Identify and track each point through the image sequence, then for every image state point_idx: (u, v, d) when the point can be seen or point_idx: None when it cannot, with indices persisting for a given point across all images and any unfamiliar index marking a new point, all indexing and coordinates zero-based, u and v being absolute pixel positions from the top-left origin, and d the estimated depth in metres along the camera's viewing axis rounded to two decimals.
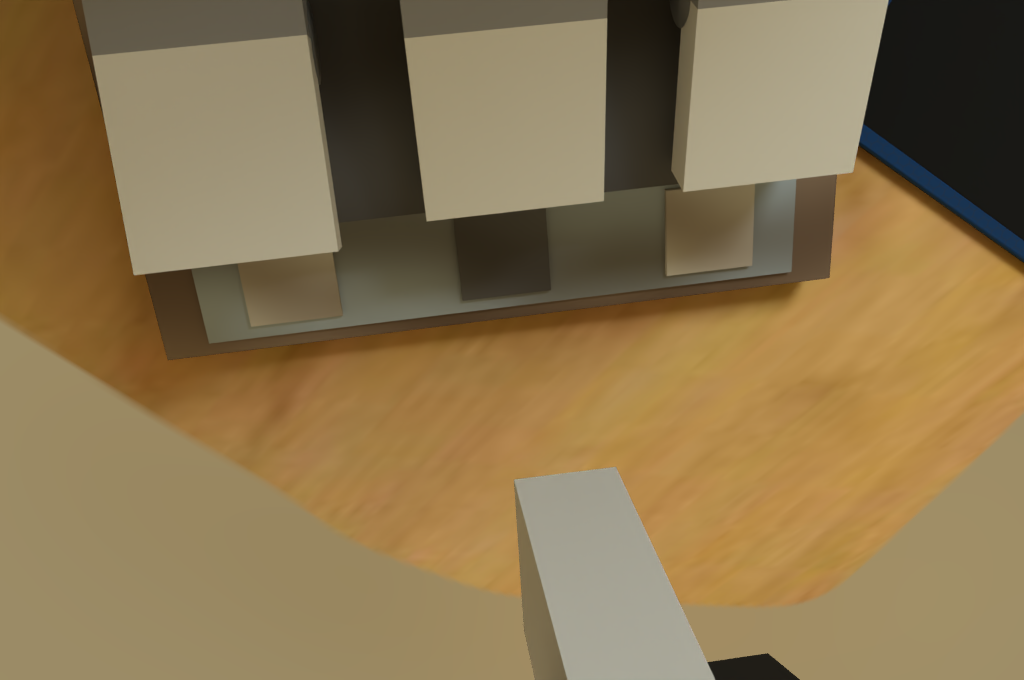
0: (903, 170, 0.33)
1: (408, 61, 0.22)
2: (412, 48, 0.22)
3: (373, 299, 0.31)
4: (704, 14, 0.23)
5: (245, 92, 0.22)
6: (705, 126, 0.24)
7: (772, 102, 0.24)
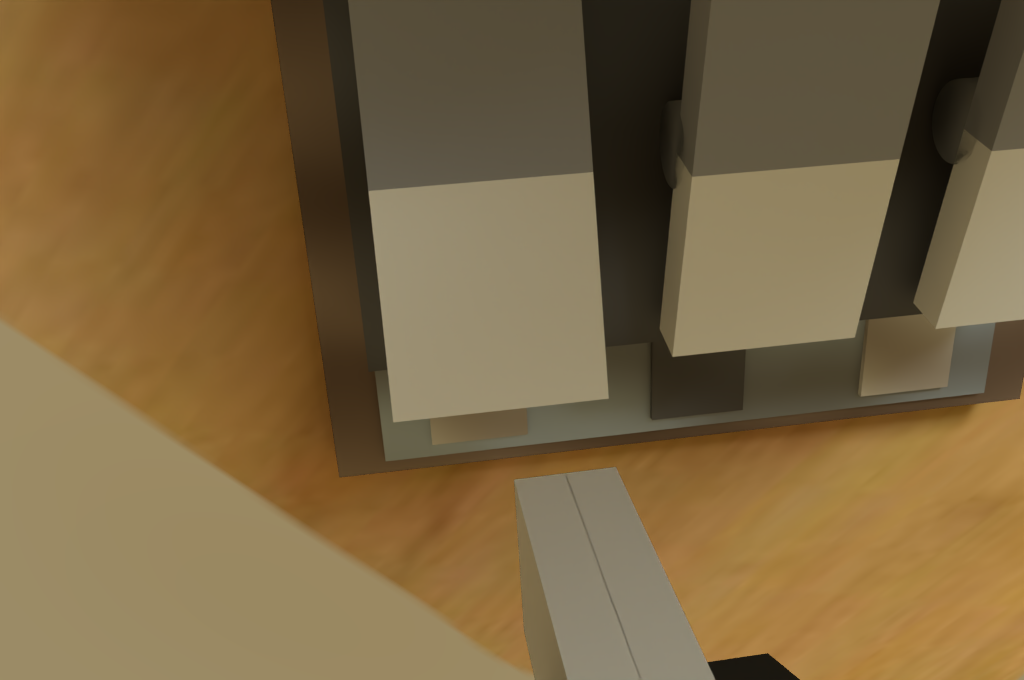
0: None
1: (690, 199, 0.21)
2: (697, 186, 0.21)
3: (559, 417, 0.30)
4: (996, 156, 0.21)
5: (525, 231, 0.20)
6: (972, 265, 0.23)
7: None
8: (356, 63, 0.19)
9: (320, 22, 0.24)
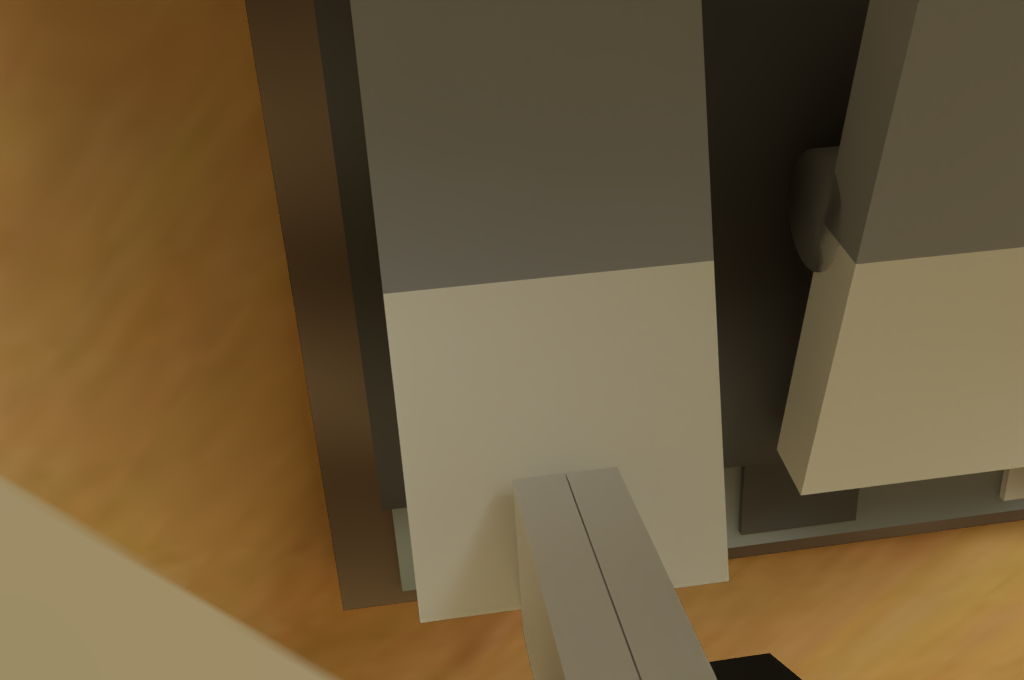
0: None
1: (849, 294, 0.14)
2: (862, 277, 0.14)
3: None
4: None
5: (613, 348, 0.14)
6: None
7: None
8: (364, 105, 0.13)
9: (313, 33, 0.18)
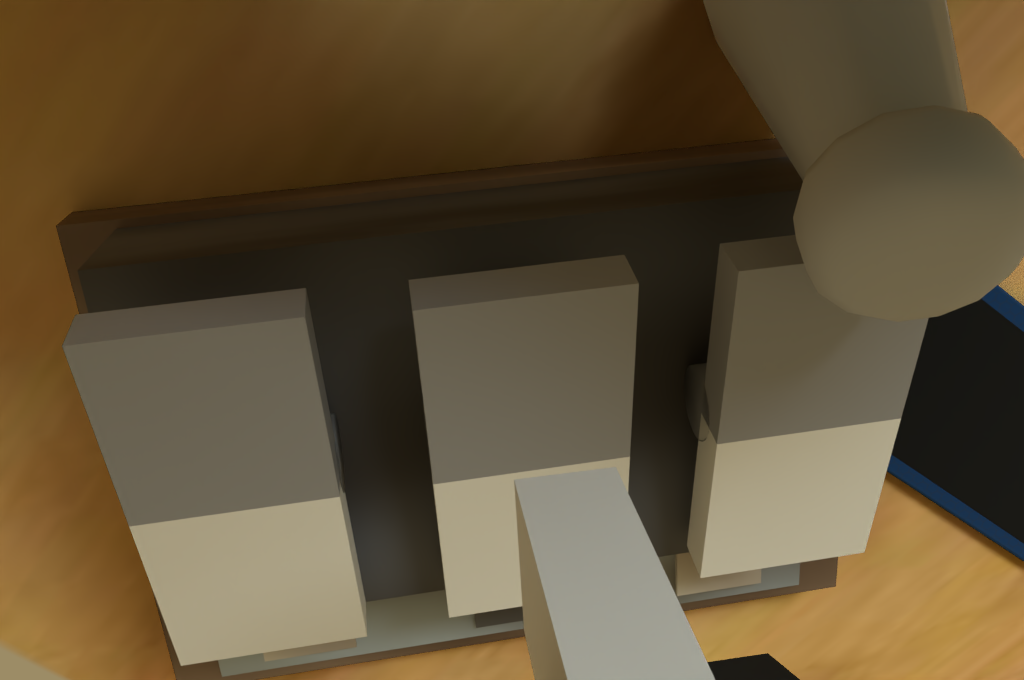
0: (903, 477, 0.34)
1: (436, 500, 0.23)
2: (440, 490, 0.23)
3: (387, 629, 0.31)
4: (723, 447, 0.23)
5: (280, 541, 0.23)
6: (722, 528, 0.25)
7: (787, 506, 0.25)
8: (98, 440, 0.20)
9: None
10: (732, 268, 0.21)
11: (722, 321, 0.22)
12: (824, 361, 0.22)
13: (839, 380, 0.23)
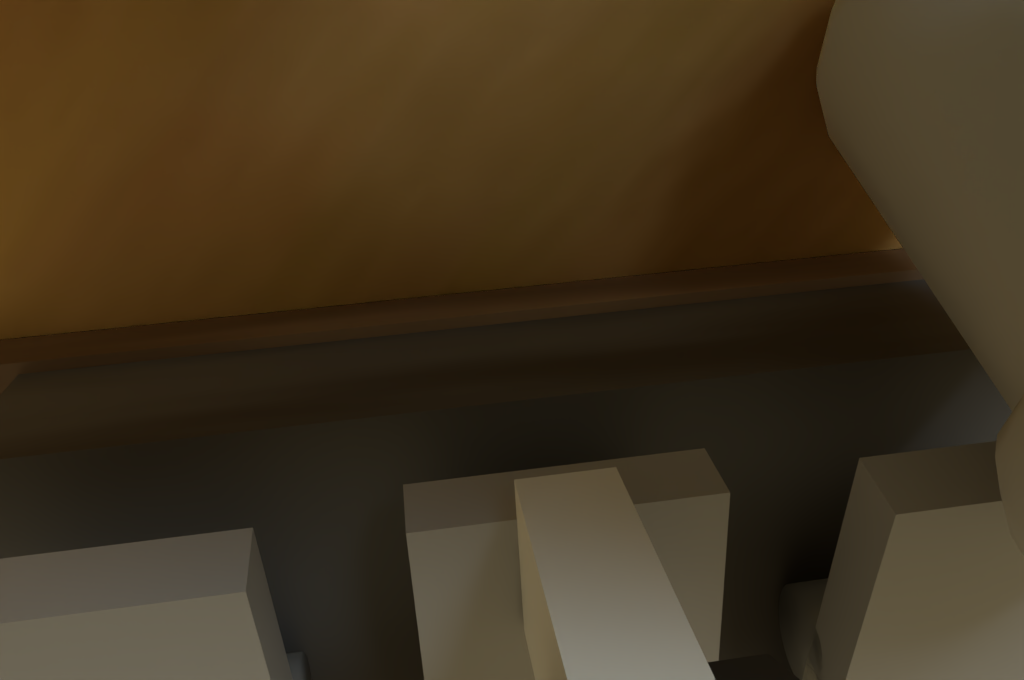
0: None
1: None
2: None
3: None
4: None
5: None
6: None
7: None
8: None
9: None
10: (882, 504, 0.14)
11: (856, 562, 0.15)
12: (998, 616, 0.15)
13: (1014, 637, 0.16)
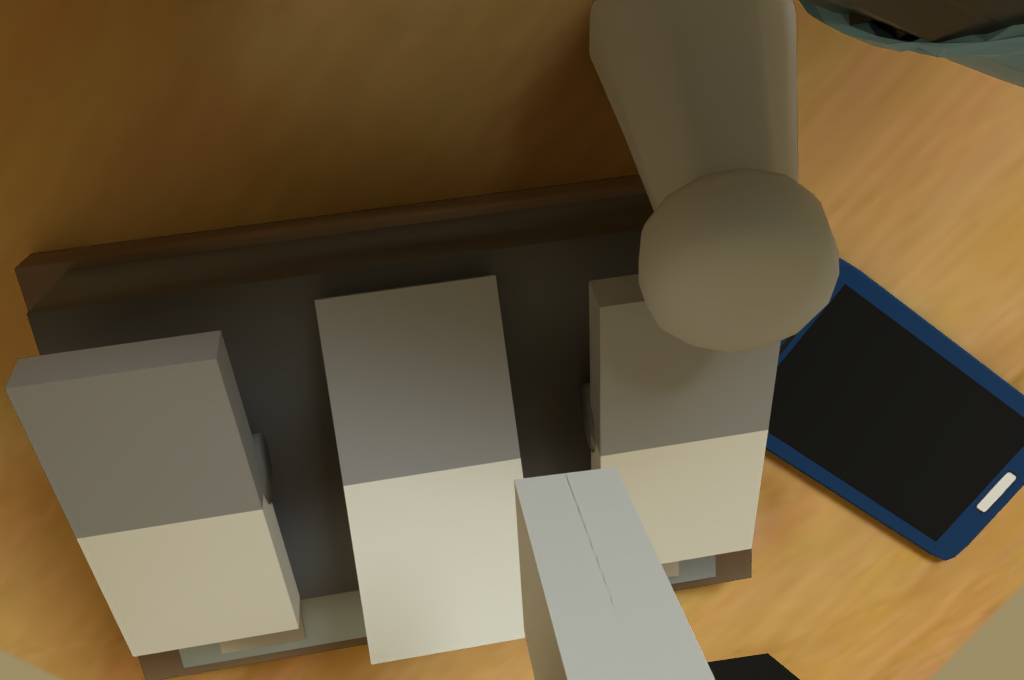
0: (811, 474, 0.37)
1: (347, 506, 0.25)
2: (350, 494, 0.25)
3: (333, 622, 0.34)
4: (606, 458, 0.26)
5: (212, 548, 0.26)
6: None
7: (673, 509, 0.28)
8: (42, 466, 0.23)
9: None
10: (596, 304, 0.23)
11: (595, 348, 0.24)
12: (689, 382, 0.25)
13: (705, 398, 0.25)
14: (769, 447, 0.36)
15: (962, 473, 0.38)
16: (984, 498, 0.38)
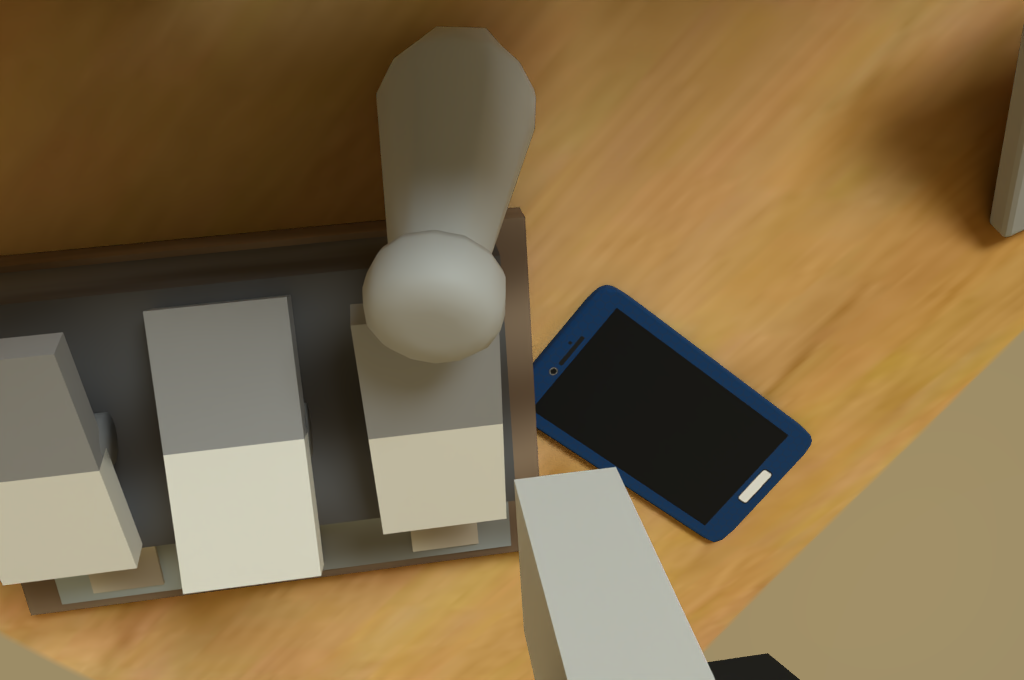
0: (594, 463, 0.44)
1: (166, 471, 0.33)
2: (168, 461, 0.33)
3: None
4: (374, 441, 0.33)
5: (61, 500, 0.33)
6: (390, 498, 0.35)
7: (435, 484, 0.35)
8: None
9: None
10: None
11: None
12: (431, 384, 0.32)
13: (447, 397, 0.33)
14: (558, 439, 0.43)
15: (724, 469, 0.45)
16: (744, 491, 0.46)
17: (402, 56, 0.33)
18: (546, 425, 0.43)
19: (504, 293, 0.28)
